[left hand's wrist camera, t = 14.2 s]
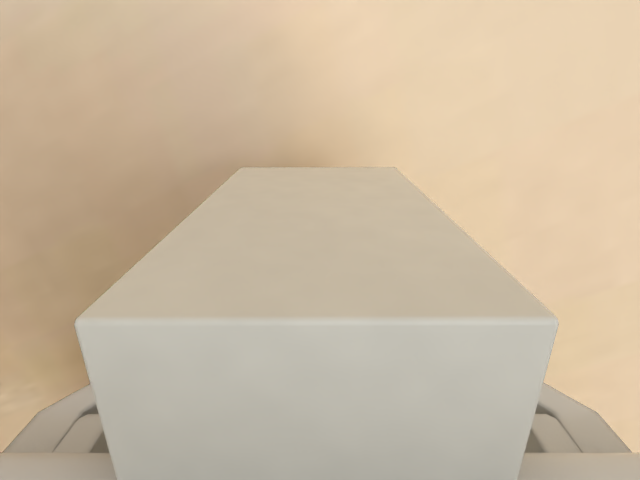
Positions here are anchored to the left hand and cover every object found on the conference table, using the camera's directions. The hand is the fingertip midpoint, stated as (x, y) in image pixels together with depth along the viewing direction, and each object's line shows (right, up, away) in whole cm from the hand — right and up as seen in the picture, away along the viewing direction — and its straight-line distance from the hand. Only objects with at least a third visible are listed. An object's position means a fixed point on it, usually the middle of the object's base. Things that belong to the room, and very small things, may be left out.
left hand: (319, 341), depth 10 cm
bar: (0, -8, +7) cm, 10 cm away
